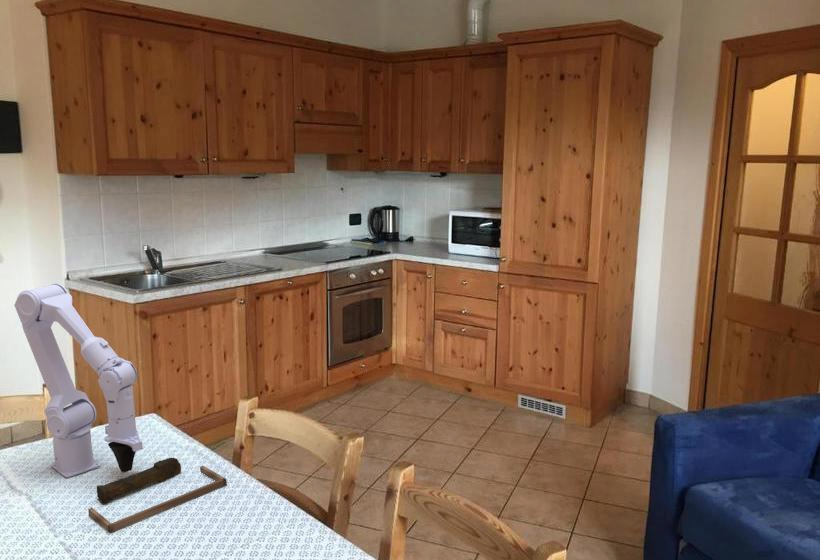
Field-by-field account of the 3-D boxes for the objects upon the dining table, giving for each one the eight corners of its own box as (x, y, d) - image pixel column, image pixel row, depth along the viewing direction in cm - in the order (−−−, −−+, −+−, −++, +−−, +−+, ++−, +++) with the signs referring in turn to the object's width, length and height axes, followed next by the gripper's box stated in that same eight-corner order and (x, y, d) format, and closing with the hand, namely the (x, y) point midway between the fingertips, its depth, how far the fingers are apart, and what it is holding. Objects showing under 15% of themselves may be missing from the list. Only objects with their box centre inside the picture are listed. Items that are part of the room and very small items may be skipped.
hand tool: (103, 507, 145) (101, 487, 144) (96, 500, 148) (94, 480, 147) (186, 477, 158) (185, 459, 157) (178, 471, 161) (177, 453, 160)
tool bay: (88, 515, 141) (88, 509, 141) (203, 471, 160) (203, 465, 160) (109, 533, 135) (109, 526, 134) (226, 485, 154) (226, 478, 154)
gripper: (90, 412, 157) (95, 466, 160) (118, 429, 148) (123, 487, 150) (120, 403, 162) (124, 456, 165) (149, 419, 153) (153, 475, 155)
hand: (126, 470), depth 158 cm, fingers closed
